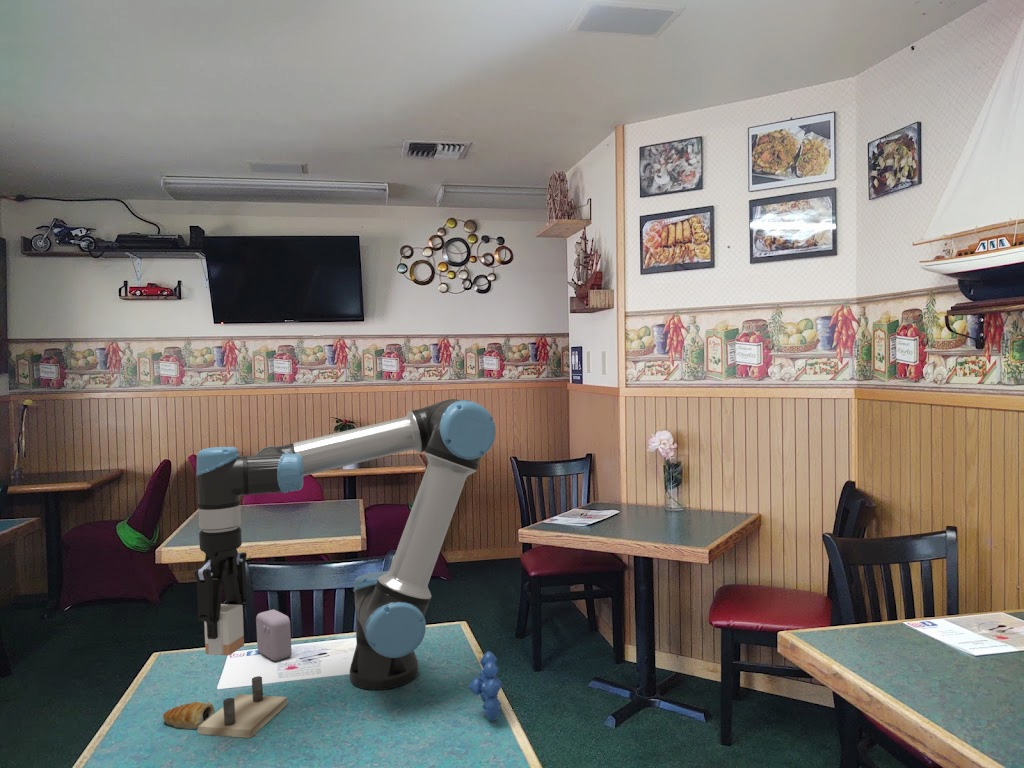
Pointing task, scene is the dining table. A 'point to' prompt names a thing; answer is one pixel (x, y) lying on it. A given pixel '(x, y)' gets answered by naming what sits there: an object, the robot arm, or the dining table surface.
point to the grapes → (488, 686)
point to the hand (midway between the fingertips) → (225, 648)
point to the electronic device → (273, 635)
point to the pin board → (243, 713)
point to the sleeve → (230, 628)
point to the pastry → (189, 715)
